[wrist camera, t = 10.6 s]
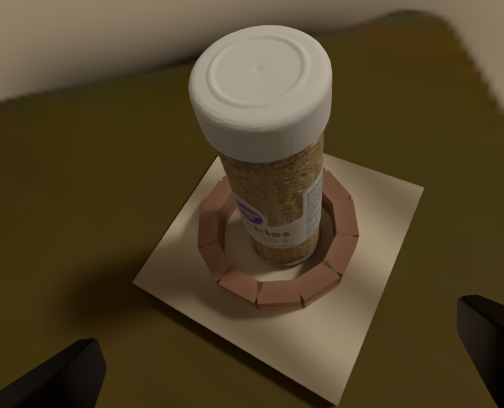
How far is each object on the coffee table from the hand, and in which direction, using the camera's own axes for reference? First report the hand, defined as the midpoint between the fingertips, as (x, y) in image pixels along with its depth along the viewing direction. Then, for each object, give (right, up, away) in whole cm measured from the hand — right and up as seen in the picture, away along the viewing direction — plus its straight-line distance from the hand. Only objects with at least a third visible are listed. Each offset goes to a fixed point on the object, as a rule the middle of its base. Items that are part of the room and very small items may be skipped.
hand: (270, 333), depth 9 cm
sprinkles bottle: (+2, +1, +14) cm, 14 cm away
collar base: (+1, +1, +15) cm, 15 cm away
